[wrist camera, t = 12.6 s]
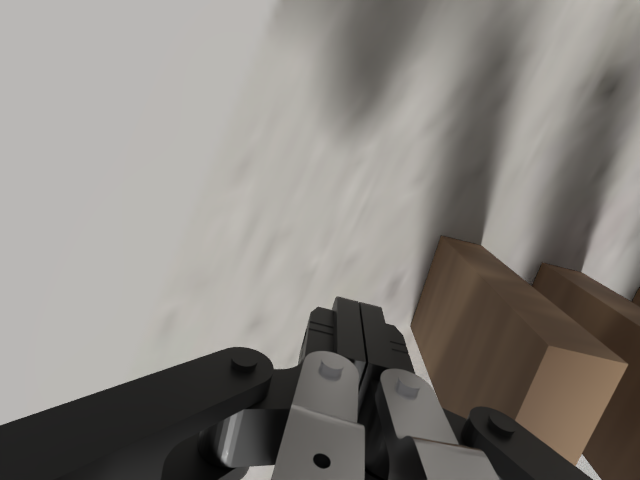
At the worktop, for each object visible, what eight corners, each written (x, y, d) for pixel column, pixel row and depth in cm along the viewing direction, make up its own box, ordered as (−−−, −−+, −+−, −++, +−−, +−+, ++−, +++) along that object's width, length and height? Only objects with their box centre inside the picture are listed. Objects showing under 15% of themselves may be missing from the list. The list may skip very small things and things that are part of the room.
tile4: (581, 272, 19) (824, 416, 10) (540, 359, 21) (719, 561, 11) (542, 262, 19) (748, 397, 10) (504, 350, 21) (651, 545, 11)
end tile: (480, 245, 19) (628, 363, 10) (447, 335, 20) (548, 519, 11) (441, 235, 19) (548, 345, 9) (410, 326, 20) (477, 503, 11)
